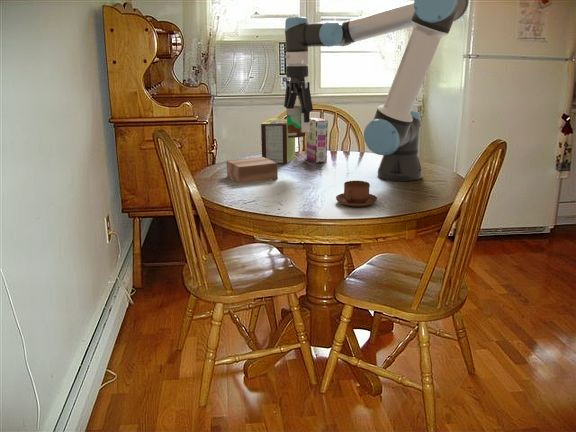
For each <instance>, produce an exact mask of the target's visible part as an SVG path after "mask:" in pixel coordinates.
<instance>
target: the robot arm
mask: <svg viewBox="0 0 576 432" xmlns="http://www.w3.org/2000/svg"><path fill="white" fill-rule="evenodd" d="M469 2H470V0H413V1H409V2H406V3H403V4H399V5H395V6H393V7H389V8H385V9H382V10H380V11H375V12H372V13H368V14H365V15H361V16H358V17H355V18H351V19H348V20H345V21H341V22H338V21H323V22H308V18H307V17H305V16H294V17H293V16H290V17H287V18H286V19H285V20H284V21H285V23H284V24H285V27H284V33H285V34H284V35H285V56H284V58H285V64H286V65H287V66H286V67H285V73H286V78H290V79H288V80H285V94H284V95H285V96H284V104H283V108H286V109H285V110H287V109H291V108H294V105H295V104H296V101H297V98H298V101H299V104H300V105H301V108H302V111H301V126H302V132H305V133H307V132H310V120H309V118H310V113H311V112H313V111H314V108H313V107H314V106H313V100H312V96H311V90H310V89H311V88H310V81H305V78H307V77H309V66H308V65H307V64H309V48H311V47H326V48H327V47H328V48H329V47H337V46H338V47H346V46H349V45H351V44H354V43H355V42H360V41H365V40H367V39H368V40H369V39H371V38H375V37H378V36H382V35H386V34H390V33H395V32H398V31H402V30H406V29H410V28H412V32H411V33H410V36H409V40H408V42H407V43H406V47H405V50H404V53H403V54H402V57H401V60H400V63H399V65H398V67H397V70H396V73H395V76H394V78H393V81H392V84H391V85H390V89H389V91H388V93H387V96H386V99H385V101H384V103H383V104H380V105H379V106H378V107H377V109H376V112H375V115H374V118H373V119H372V120H370V122H368V124H367V125H366V126H365V128H364V131H363V139H364V142H365V145H366V147H367V149H368V150H369V151H371V152H372V153H373V154H375V155H378V156H382V158H381V160H380V164H379V166H378V168H377V177H379V178H380V179H382V180H386V181H393V182H394V181H395V182H411V181H412V182H413V181H417V180H421V179H422V177H423V176H422V175H423V170H422V166H421V162H420V158H419V144H420V143H419V142H420V127H421V114H420V112H419V111H417V110H413V108H414V105H415V103H416V100H417V97H418V95H419V93H420V91H421V89H422V85H423V83H424V81H425V78H426V76H427V73H428V71H429V69H430V66H431V64H432V61H433V59H434V56H435V53H436V51H437V49H438V46H439V44H440V41H441V39H442V38H443V37H445V36H448V35H449V33H450V30H451V28H452V26H453V24H454V22H456V21H458V20H459V19H461V17H463V16H464V14H465V13H466V12H467V10H468V7H469Z"/></svg>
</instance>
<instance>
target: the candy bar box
mask: <svg viewBox="0 0 576 432" xmlns="http://www.w3.org/2000/svg"><path fill="white" fill-rule="evenodd" d="M309 120H310V132H306V159H307V160H309V161H311V162H314V163H316V164H320V163H321V164H323V163H327V162H328V125H329V124H328V120H326V119H324V118H320V117H309Z"/></svg>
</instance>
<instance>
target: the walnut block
mask: <svg viewBox="0 0 576 432" xmlns="http://www.w3.org/2000/svg"><path fill="white" fill-rule="evenodd" d="M278 175H279V174H278V163H276V162H274V161H271V160H269V159H267V158H265V157H262V156H260V157H259V156H258V157H251V158H241V159H239V158H238V159H230V160H226V176H227V177H228V178H229V179H231V180H233V181H234V182H236V183H237V184H239V185H241V184H249V183H250V184H251V183H258V182H267V181H274V180H276V181H277V180H278Z"/></svg>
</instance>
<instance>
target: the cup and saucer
mask: <svg viewBox="0 0 576 432" xmlns="http://www.w3.org/2000/svg"><path fill="white" fill-rule="evenodd" d="M370 187H371V186H370V182H367V181H364V180H348V181H345V182H344V183H343V188H344V189H343V191H344V192H342V193H340V194H338V195H336V196H335V200H336V201H337V202H338V203H339V204H340V205H344V206H347V207H353V208H354V207H357V208H361V207H368V206H371V205H374V204H375V203H376V202H377V201H378V197H377V196H376V195H374V194H372V193H370Z"/></svg>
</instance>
